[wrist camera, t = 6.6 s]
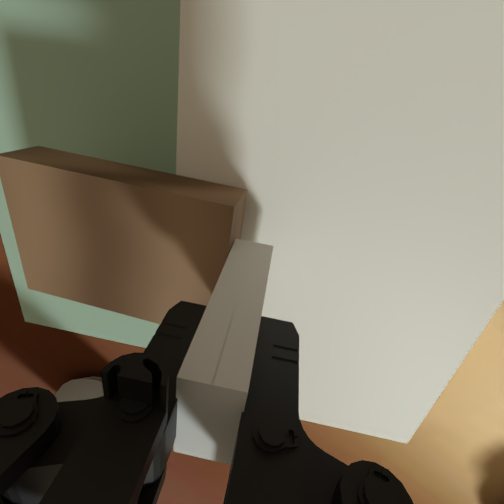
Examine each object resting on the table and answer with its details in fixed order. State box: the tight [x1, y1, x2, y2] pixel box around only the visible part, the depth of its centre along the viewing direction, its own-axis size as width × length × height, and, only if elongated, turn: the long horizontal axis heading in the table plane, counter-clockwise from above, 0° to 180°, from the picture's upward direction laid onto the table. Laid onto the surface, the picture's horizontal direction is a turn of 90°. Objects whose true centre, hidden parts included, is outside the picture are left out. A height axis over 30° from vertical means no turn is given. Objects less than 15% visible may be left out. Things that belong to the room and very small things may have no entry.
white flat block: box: [176, 0, 504, 443], centre depth 15 cm, size 14×20×4 cm
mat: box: [0, 0, 180, 348], centre depth 18 cm, size 12×22×1 cm, turn 172°
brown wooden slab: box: [0, 146, 247, 324], centre depth 13 cm, size 9×6×2 cm, turn 82°
